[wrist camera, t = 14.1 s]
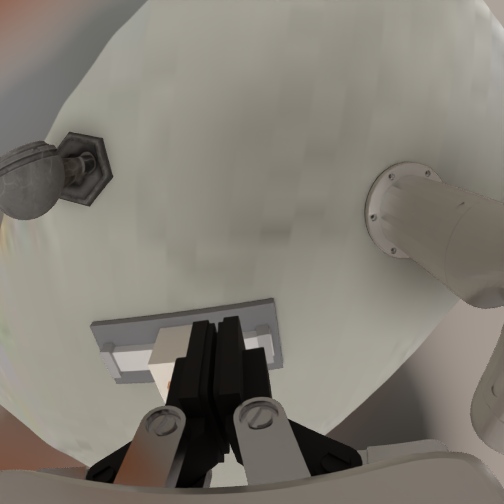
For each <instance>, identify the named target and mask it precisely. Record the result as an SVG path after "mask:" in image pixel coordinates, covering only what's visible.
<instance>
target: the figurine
mask: <svg viewBox="0 0 504 504" xmlns="http://www.w3.org/2000/svg"><path fill="white" fill-rule="evenodd" d="M112 178H113V175H112V172H111V168H110V164H109V161H108V157H107V153H106V150H105V146H104V142H103V138H98V137H93V136H88V135H83V134H77V133H72V132H69V133H68V134H67V136H66V137H65V138H64V140H63V141H62V142H61V144H60V145H59V147H58V148H57V149H56V147H55V146H54V145H49V144H47V143H45V142H44V141H37V142H33V143H29V144H26V145H23V146H20V147H18V148H15V149H13V150H11V151H9V152H7V153H6V154H4V155H2V156H1V157H0V209H1V210H2V211H3V212H4V213H5V214H6V215H8V216H10V217H12V218H15V219H18V220H31V219H35V218H38V217H40V216H42V215H43V214H45V213H46V212H48V211H49V210H50V209H51V208H52V207H53V206H54V205H55V203H56V202H57V200H58V199H59V198H60V199H63V200H67V201H71V202H75V203H78V204H82V205H86V206H90V205H91V204H92V203H93V202H94V200H95V199H96V198H97V196H98V195H99V194H100V193H101V191H102V190H103V189H104V188H105V186H106V185H107V184H108V183H109V181H110V180H111V179H112Z"/></svg>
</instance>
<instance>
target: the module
mask: <svg viewBox="0 0 504 504" xmlns="http://www.w3.org/2000/svg"><path fill="white" fill-rule="evenodd" d="M191 329H192V325H185V326H177V327H168V328H160V330H159V333H158V336H157V339H156V342H155V344H154V347H153V350H152V353H151V356H150V359H149V362H148V367H149V369H150V371H151V374H152V376H153V378H154V380H155V383H156V385H157V387H158V389H159V391H160V394H161V396H162V398H163V400H164V402H165V404H166V400H167V395H168V391H169V386H170V382H171V378H172V373H173V369H174V365H175V361H176V359H177V358H180V357H186V354H187V349H188V344H189V339H190V334H191Z"/></svg>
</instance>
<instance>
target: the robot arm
mask: <svg viewBox="0 0 504 504" xmlns="http://www.w3.org/2000/svg"><path fill="white" fill-rule="evenodd" d="M425 172H426V173H425ZM389 174H390V177H389V178H388V176H389ZM372 215H373V216H372ZM371 216H372V218H371ZM365 220H366V225H367V229H368V232H369V234H370V237H371V238H372V240H373V241H374V243H375V244H376V245H377V246H378V247H379V248H380V249H381V250H382V251H384V252H385V253H386V254H388V255H390V256H392V257H396V258H412V259H413V260H414V261H416V262H417V263H418V264H419V265H421V266H422V267H423V268H424V269H426V270H427V271H428V272H429V273H431V274H432V275H433V276H434V277H436V278H437V279H438V280H439V281H440V282H442V283H443V284H444V285H445V286H446V287H448V288H449V289H450V290H451V291H452V292H453V293H455V294H456V295H457V296H458V297H460V298H461V299H462V300H463V301H465V302H466V303H468V304H469V305H472V306H474V307H478V308H483V309H487V308H496V307H500V306H504V203H501V202H498V201H495V200H492V199H489V198H487V197H484V196H481V195H478V194H475V193H472V192H469V191H466V190H463V189H460V188H457V187H454V186H451V185H448V184H444V183H443V182H442V180H441V179H440V177H439V176H438V175H437V174H436V173H435V172H434V171H433V170H432V169H430V168H429V167H427V166H425V165H422V164H419V163H413V162H404V163H400V164H396V165H394V166H392V167H390V168H388V169H387V170H386V171H384V172H383V173H382V174H381V175H380V176H379V177H378V179H377V180H376V181H375V182H374V184H373V186H372V188H371V190H370V192H369V195H368V198H367V202H366V208H365ZM391 249H392V250H391ZM470 416H471V422H472V426H473V428H474V430H475V432H476V434H477V435H478V437H479V438H480V439H481V440H482V441H483V442H484V443H485V444H486V445H487V446H488V447H490V448H491V449H493V450H495V451H497V452H499V453H501V454H503V455H504V325H503V327H502V330H501V335H500V337H499V340H498V343H497V345H496V347H495V349H494V351H493V354H492V356H491V358H490V360H489V363H488V365H487V367H486V369H485V371H484V373H483V375H482V377H481V380H480V381H479V384H478V386H477V388H476V391H475V393H474V396H473V399H472V403H471V409H470ZM230 445H231V448H232V450H233V453H234V454H235V457H236V460H237V462H238V463H240V464H241V465H243V466H244V469H245V473H246V477H247V481H248V485H247V486H234V487H216V488H209V487H210V483H211V478H212V470H211V469H212V468H213V467H214V466H216V465H217V464H218V463H221V462H224V454H229V452H230ZM0 504H504V489H503V487H502V485H501V484H500V482H499V481H498V479H497V478H496V477H495V475H494V474H493V473H492V471H491V470H490V469H489V468H488V467H487V466H486V465H485V464H484V463H483V462H482V461H481V460H480V459H478V458H477V457H475V456H473V455H471V454H467V453H462V452H452V451H448V449H447V447H446V445H444V444H443V443H442V442H440V441H437V440H421V441H415V442H408V443H400V444H393V445H384V446H374V447H368V449H367V450H361V451H356V450H355V449H353V448H351V447H350V446H347V445H345V444H343V443H340V442H338V441H335V440H333V439H331V438H328V437H326V436H324V435H322V434H319V433H317V432H315V431H313V430H311V429H308V428H306V427H304V426H302V425H300V424H298V423H296V422H294V421H292V420H290V419H288V418H287V416H286V413H285V411H284V408H283V407H282V405H281V404H280V403H279V402H278V401H276V400H275V399H272V394H271V387H270V380H269V373H268V367H267V361H266V355H265V350H264V347H259V348H253V349H246V347H245V343H244V338H243V333H242V329H241V324H240V319H239V316H231V317H224V318H223V322H218V332H217V330H216V326H215V323H210V322H209V320H202V321H195V322H193V324H192V329H191V334H190V339H189V344H188V349H187V354H186V357H180V358H177V359H176V361H175V365H174V369H173V373H172V378H171V382H170V386H169V391H168V395H167V400H166V404H165V406H161V407H157V408H155V409H153V410H151V411H149V412H148V413H147V414H146V415H145V416H144V417H143V419H142V420H141V423H140V425H139V427H138V429H137V431H136V433H135V436H134V438H133V440H132V441H131V442H129V443H128V444H126V445H124V446H123V447H121V448H120V449H118V450H117V451H115V452H113V453H112V454H110V455H109V456H107V457H105V458H104V459H102V460H100V461H99V462H97V463H96V464H94V465H93V466H92V467H91V468H90V469H87V467H70V468H44V469H39V470H37V471H28V470H5V471H0Z"/></svg>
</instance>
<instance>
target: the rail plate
mask: <svg viewBox="0 0 504 504" xmlns="http://www.w3.org/2000/svg"><path fill="white" fill-rule="evenodd" d="M231 316H239V319H240V324H241V329H242V333H243V338H244V343H245V347H246V349H253V348H259V347H264V350H265V355H266V361H267V367H268V370H272V369H278V368H283V362H282V355H281V348H280V341H279V333H278V326H277V319H276V312H275V305H274V300H273V298H271V299H265V300H259V301H253V302H246V303H240V304H233V305H227V306H220V307H213V308H206V309H199V310H191V311H184V312H176V313H168V314H160V315H152V316H144V317H135V318H126V319H117V320H108V321H98V322H92V324H91V325H90V328H91V330H92V333H93V335H94V337H95V339H96V342H97V344H98V346H99V348H100V350H101V351H100V355H101V357H102V359H103V361H104V363H105V365H106V367H107V369H108V371H109V373H110V375H111V377H112V378H114V379H115V381H116V383H117V384H128V383H151V382H155V380H154V378H153V376H152V374H151V371H150V369H149V367H148V362H149V359H150V356H151V353H152V350H153V347H154V344H155V342H156V339H157V336H158V333H159V330H160V328H168V327H177V326H185V325H192V324H193V322H195V321H202V320H209V322H210V323H215V326H216V330H217V332H218V322H223V318H224V317H231Z"/></svg>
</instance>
